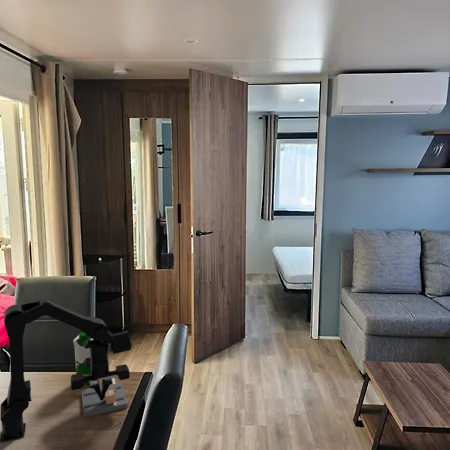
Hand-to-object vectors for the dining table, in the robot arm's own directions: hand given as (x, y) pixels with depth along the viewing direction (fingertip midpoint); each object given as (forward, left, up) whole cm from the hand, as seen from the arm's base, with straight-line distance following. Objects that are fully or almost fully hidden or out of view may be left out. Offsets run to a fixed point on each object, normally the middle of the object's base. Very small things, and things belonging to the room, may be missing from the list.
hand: (101, 399), depth 132 cm
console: (+4, -1, -3) cm, 5 cm away
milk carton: (+20, +3, -3) cm, 20 cm away
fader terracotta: (0, -3, -1) cm, 3 cm away
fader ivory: (+7, -4, -1) cm, 8 cm away
